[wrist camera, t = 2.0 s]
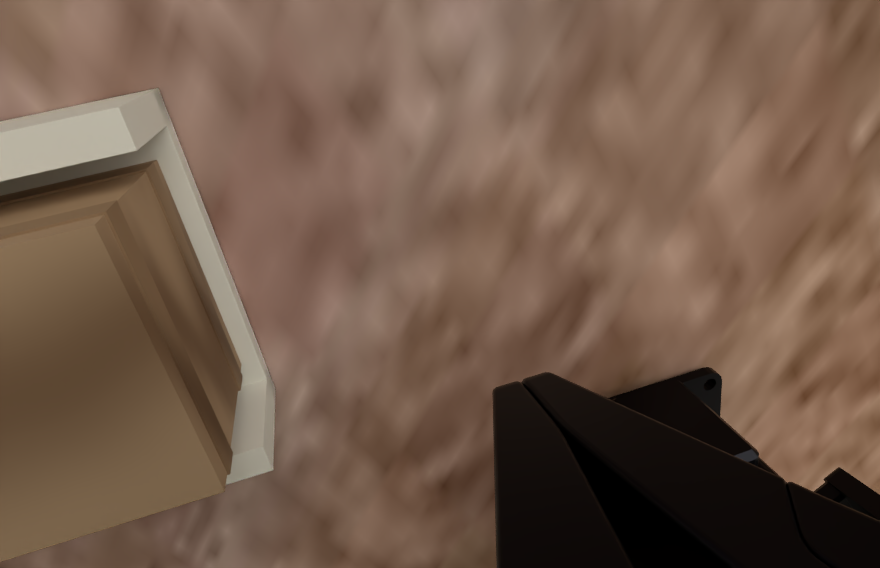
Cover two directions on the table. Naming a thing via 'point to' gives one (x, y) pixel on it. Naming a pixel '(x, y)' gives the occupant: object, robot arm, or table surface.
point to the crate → (106, 360)
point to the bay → (154, 138)
